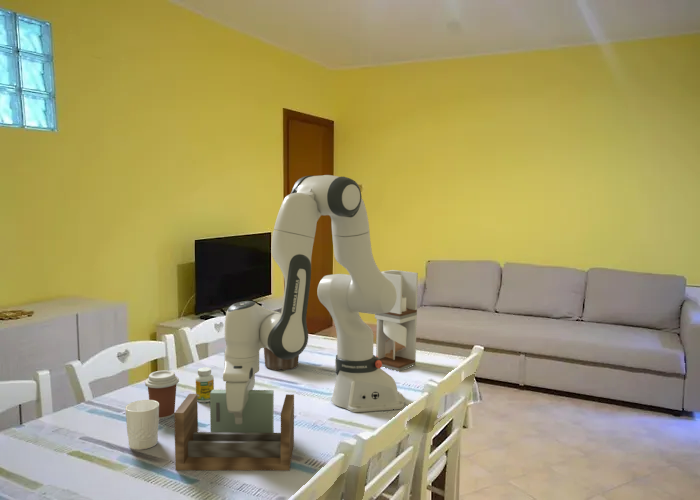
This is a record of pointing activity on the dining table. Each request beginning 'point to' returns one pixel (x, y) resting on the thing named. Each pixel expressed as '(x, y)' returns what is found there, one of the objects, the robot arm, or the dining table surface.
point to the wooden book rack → (231, 443)
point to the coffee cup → (163, 391)
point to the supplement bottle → (204, 384)
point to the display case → (399, 323)
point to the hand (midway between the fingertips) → (242, 416)
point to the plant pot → (279, 361)
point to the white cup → (142, 423)
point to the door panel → (254, 414)
